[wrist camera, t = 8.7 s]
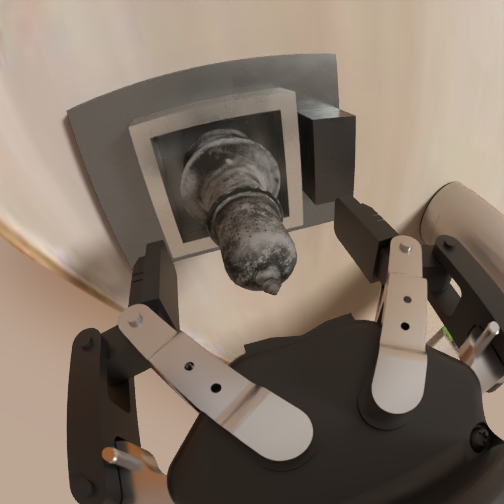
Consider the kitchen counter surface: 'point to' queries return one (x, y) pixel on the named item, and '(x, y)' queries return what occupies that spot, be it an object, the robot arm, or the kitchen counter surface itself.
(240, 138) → the grey chess piece
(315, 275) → the kitchen counter surface
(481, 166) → the kitchen counter surface
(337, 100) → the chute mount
